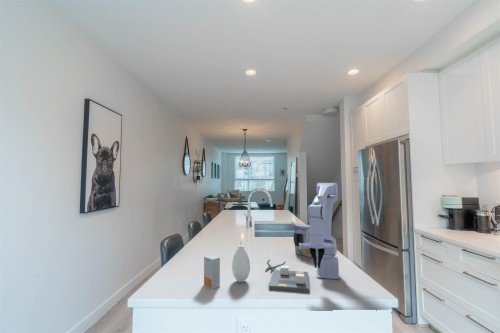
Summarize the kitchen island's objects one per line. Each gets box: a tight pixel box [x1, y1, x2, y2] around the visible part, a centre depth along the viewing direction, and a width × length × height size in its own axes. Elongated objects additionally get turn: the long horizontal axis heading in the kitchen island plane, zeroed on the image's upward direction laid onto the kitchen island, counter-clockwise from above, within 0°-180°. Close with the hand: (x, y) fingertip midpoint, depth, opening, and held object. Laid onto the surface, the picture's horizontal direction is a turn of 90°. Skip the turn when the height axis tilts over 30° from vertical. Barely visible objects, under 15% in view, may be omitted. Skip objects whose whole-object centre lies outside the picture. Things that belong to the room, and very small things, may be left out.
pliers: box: [264, 259, 286, 274], centre depth 133 cm, size 10×1×20 cm
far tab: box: [279, 265, 290, 275], centre depth 117 cm, size 4×3×3 cm
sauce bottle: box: [231, 242, 251, 283], centre depth 113 cm, size 8×8×18 cm
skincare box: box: [203, 254, 221, 290], centre depth 108 cm, size 6×4×12 cm
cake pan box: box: [293, 223, 317, 260], centre depth 152 cm, size 19×5×18 cm, turn 37°
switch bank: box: [268, 269, 310, 293], centre depth 112 cm, size 16×19×2 cm
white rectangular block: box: [296, 273, 305, 284], centre depth 107 cm, size 4×3×3 cm
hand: (317, 267), depth 106 cm, fingers closed
